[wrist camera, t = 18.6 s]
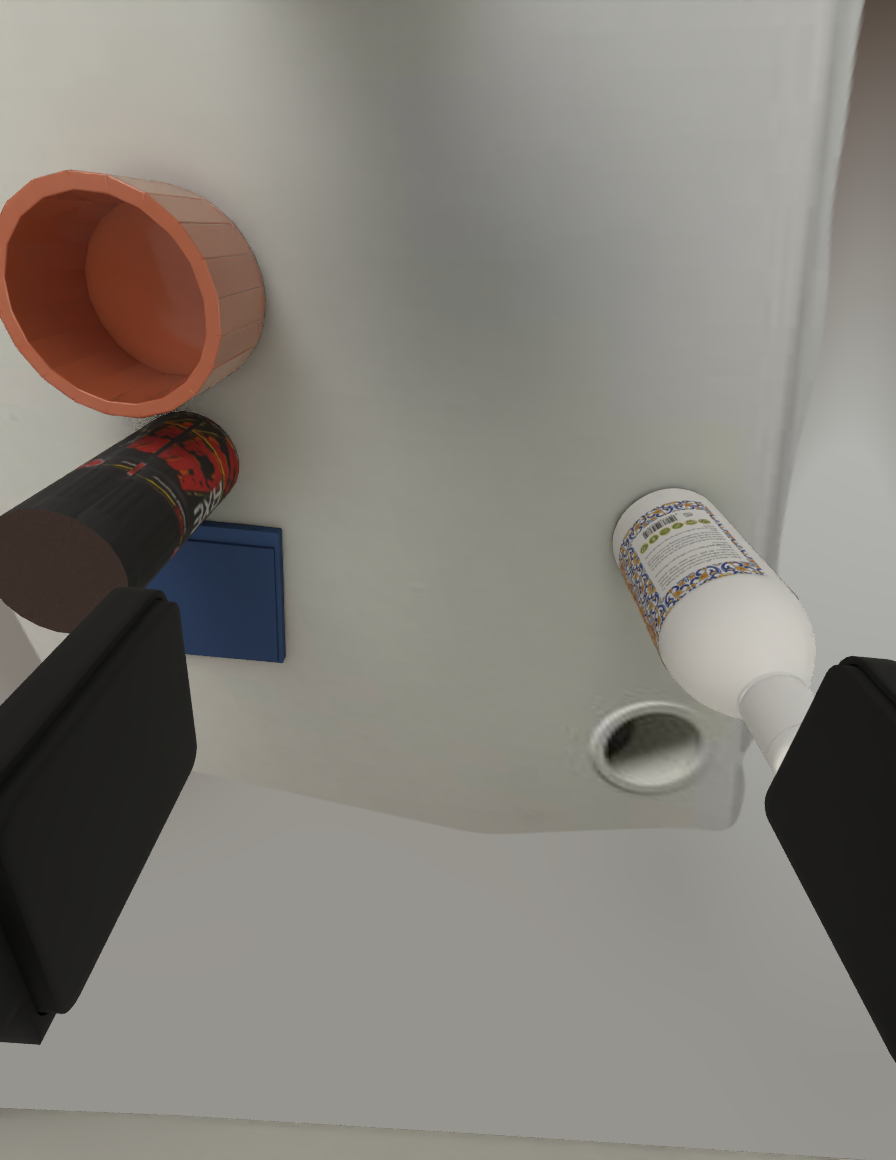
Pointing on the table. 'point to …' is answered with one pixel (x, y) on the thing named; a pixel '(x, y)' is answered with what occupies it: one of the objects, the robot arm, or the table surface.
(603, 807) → the table surface
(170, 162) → the table surface
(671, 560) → the bath foam
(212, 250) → the pot
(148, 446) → the deodorant
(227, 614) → the blue book
